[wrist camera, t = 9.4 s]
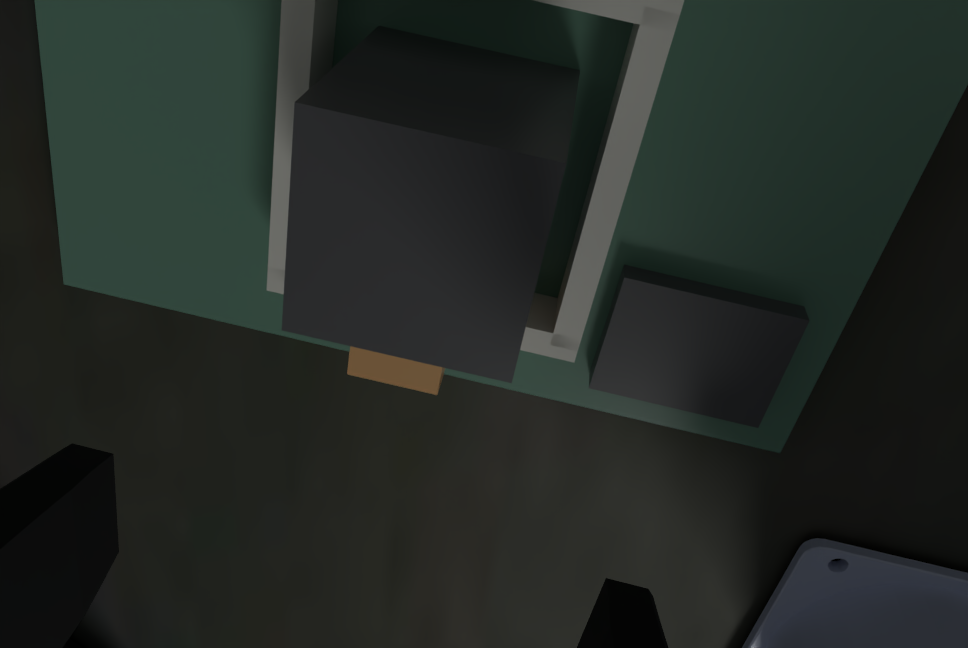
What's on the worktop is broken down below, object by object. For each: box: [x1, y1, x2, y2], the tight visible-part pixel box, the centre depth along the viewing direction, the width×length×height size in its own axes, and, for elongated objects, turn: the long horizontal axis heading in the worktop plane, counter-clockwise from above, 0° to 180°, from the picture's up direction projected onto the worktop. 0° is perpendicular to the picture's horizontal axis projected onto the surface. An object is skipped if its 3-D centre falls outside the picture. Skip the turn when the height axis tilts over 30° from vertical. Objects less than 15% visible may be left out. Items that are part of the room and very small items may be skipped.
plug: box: [282, 26, 580, 395], centre depth 15 cm, size 4×5×5 cm
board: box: [35, 0, 968, 453], centre depth 17 cm, size 18×12×2 cm, turn 80°
